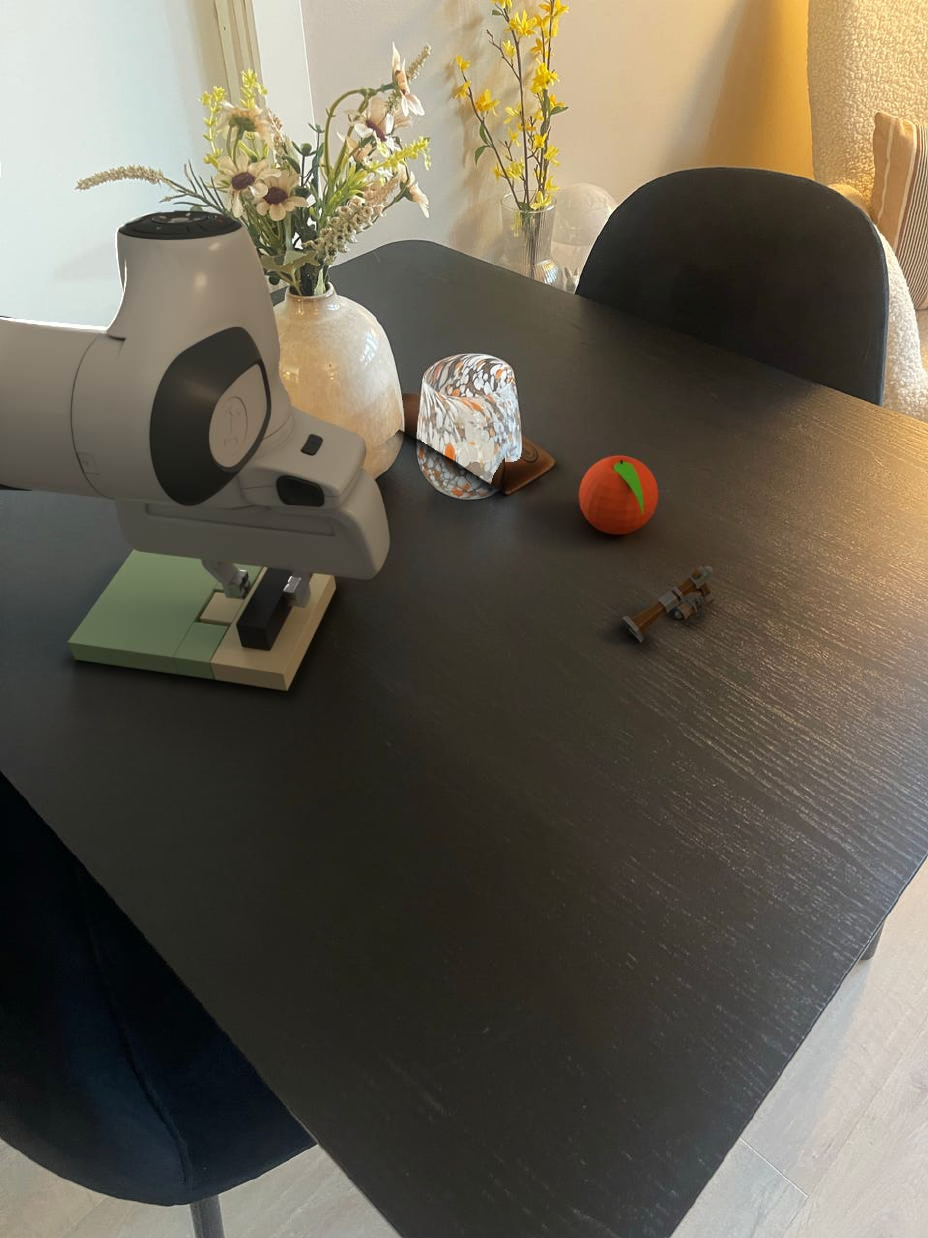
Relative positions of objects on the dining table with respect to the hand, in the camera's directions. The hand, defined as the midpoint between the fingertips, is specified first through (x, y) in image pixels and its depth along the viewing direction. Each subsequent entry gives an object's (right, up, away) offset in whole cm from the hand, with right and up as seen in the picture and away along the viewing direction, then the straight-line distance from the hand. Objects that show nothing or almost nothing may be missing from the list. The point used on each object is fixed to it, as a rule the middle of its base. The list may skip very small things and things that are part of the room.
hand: (269, 597), depth 75 cm
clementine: (+29, +6, +11) cm, 32 cm away
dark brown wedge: (+16, +16, +21) cm, 31 cm away
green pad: (-9, -2, +4) cm, 10 cm away
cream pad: (-1, -3, +3) cm, 4 cm away
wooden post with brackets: (+32, -2, +2) cm, 32 cm away
